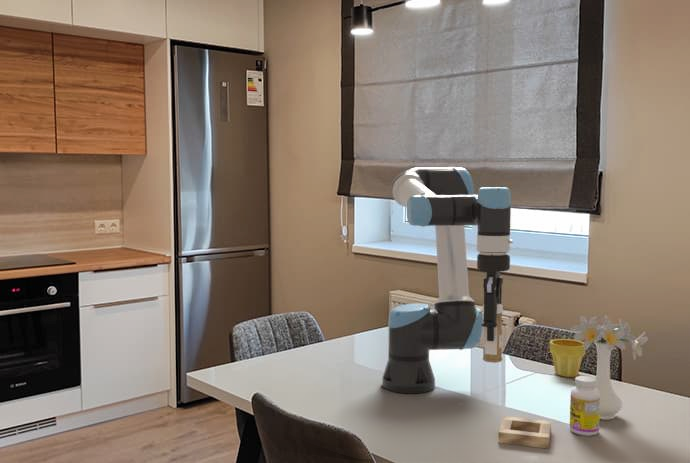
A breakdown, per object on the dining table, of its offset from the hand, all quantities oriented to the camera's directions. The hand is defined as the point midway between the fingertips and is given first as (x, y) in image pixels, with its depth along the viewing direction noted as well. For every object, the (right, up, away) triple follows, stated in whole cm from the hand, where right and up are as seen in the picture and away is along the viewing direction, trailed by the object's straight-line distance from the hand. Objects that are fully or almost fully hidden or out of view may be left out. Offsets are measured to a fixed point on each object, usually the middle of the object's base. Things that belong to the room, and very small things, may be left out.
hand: (492, 351), depth 167 cm
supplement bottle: (+22, -19, +1) cm, 29 cm away
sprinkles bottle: (0, -2, 0) cm, 2 cm away
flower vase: (+31, -18, +12) cm, 38 cm away
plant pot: (+33, -15, +49) cm, 61 cm away
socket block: (+7, -19, -3) cm, 21 cm away
